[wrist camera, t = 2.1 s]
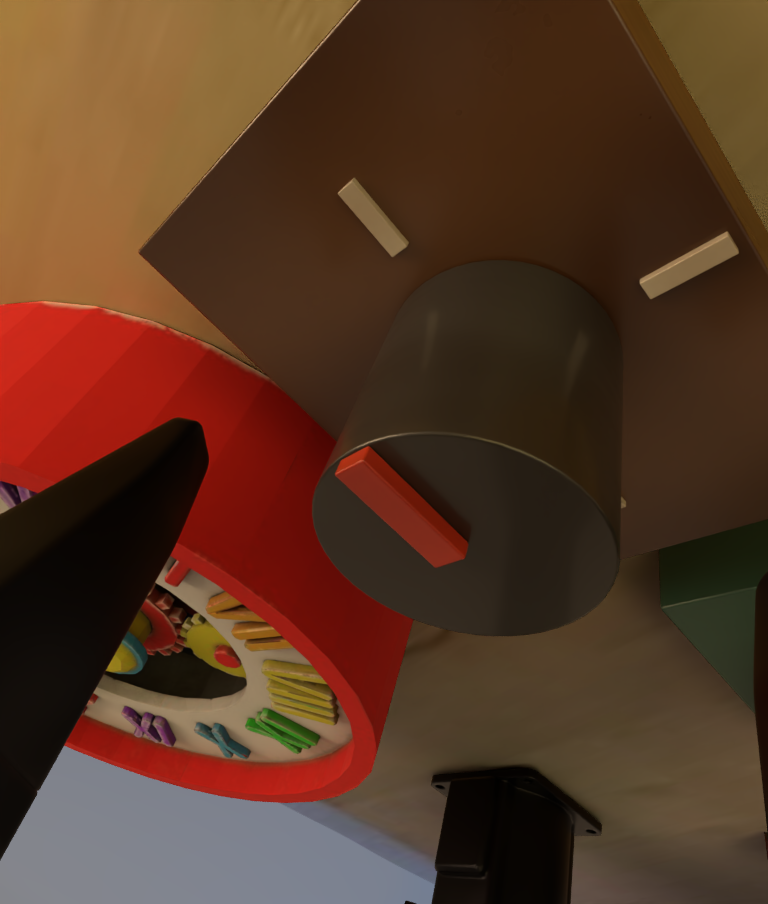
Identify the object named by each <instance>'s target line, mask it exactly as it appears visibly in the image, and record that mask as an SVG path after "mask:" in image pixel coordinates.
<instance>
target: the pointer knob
mask: <svg viewBox="0 0 768 904" xmlns="http://www.w3.org/2000/svg"><path fill="white" fill-rule="evenodd" d="M622 415H623V352H622V347H621V343H620V339H619V336H618V333H617V331H616V329H615V326H614V324H613V322H612V321H611V319H610V318H609V316H608V314H607V313H606V311H605V310H604V309H603V308H602V306H601V305H600V304H599V303H598V302H597V301H596V299H595V298H593V297H592V296H591V295H590V294H589V293H588V292H587V291H586V290H584V289H583V288H582V287H580V286H579V285H578V284H576V283H575V282H573V281H572V280H570V279H568V278H566V277H564V276H562V275H560V274H558V273H556V272H554V271H552V270H549V269H546V268H543V267H541V266H538V265H533V264H529V263H524V262H518V261H508V260H486V261H479V262H473V263H468V264H464V265H461V266H457V267H454V268H451V269H449V270H447V271H444V272H442V273H439V274H438V275H436V276H434V277H433V278H431V279H429V280H428V281H426V282H425V283H424V284H422V285H421V286H420V287H419V288H417V289H416V290H415V291H414V292H413V293H412V294H411V295H410V296H409V297H408V298H407V300H406V301H405V302H404V304H403V305H402V307H401V308H400V310H399V311H398V313H397V315H396V317H395V319H394V322H393V324H392V326H391V328H390V330H389V332H388V334H387V337H386V339H385V341H384V343H383V345H382V347H381V349H380V351H379V354H378V356H377V358H376V360H375V362H374V364H373V366H372V368H371V371H370V373H369V375H368V377H367V379H366V381H365V383H364V385H363V388H362V390H361V392H360V394H359V396H358V398H357V400H356V402H355V405H354V407H353V409H352V411H351V413H350V415H349V417H348V419H347V422H346V424H345V426H344V428H343V430H342V432H341V434H340V436H339V439H338V441H337V443H336V445H335V447H334V449H333V451H332V453H331V456H330V458H329V460H328V462H327V464H326V466H325V468H324V471H323V473H322V475H321V477H320V479H319V481H318V483H317V485H316V488H315V491H314V495H313V500H312V518H313V524H314V529H315V532H316V535H317V537H318V540H319V542H320V544H321V546H322V548H323V550H324V552H325V553H326V555H327V556H328V557H329V559H330V560H331V562H332V563H333V564H334V565H335V567H336V568H337V569H338V570H339V571H340V572H341V573H342V574H343V575H344V576H345V577H346V578H347V579H348V580H349V581H350V582H351V583H352V584H353V585H355V586H356V587H357V588H358V589H360V590H361V591H362V592H364V593H365V594H366V595H368V596H369V597H371V598H373V599H374V600H376V601H377V602H379V603H380V604H382V605H384V606H386V607H388V608H390V609H392V610H393V611H395V612H398V613H400V614H402V615H404V616H407V617H409V618H411V619H414V620H417V621H419V622H422V623H425V624H428V625H432V626H435V627H438V628H442V629H446V630H451V631H455V632H460V633H467V634H474V635H484V636H519V635H529V634H535V633H541V632H545V631H549V630H553V629H556V628H559V627H562V626H564V625H567V624H570V623H572V622H574V621H576V620H578V619H579V618H581V617H583V616H585V615H586V614H588V613H589V612H590V611H592V610H593V609H594V608H596V607H597V606H598V605H599V604H600V602H601V601H602V600H603V599H604V598H605V597H606V596H607V594H608V592H609V591H610V589H611V588H612V586H613V584H614V582H615V579H616V577H617V574H618V571H619V563H620V537H621V476H622Z"/></svg>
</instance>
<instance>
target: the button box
mask: <svg viewBox="0 0 768 904" xmlns="http://www.w3.org/2000/svg"><path fill="white" fill-rule="evenodd" d="M767 571H768V519H767V520H763V521H759V522H756V523H752V524H749V525H745V526H741V527H738V528H734V529H731V530H727V531H723V532H720V533H716V534H712V535H709V536H705V537H702V538H698V539H694V540H691V541H687V542H683V543H680V544H676V545H673V546H669V547H665V548H662V549H659V576H660V604H661V609H662V611H663V612H664V613H665V614H666V615H667V616H668V617H669V618H670V620H671V621H672V622H673V623H674V624H675V625H676V626H677V627H678V628H679V630H680V631H681V632H682V633H683V634H684V635H685V636H686V637H687V639H688V640H689V641H690V642H691V643H692V644H693V645H694V646H695V647H696V649H697V650H698V651H699V652H700V653H701V654H702V655H703V656H704V658H705V659H706V660H707V661H708V662H709V663H710V664H711V665H712V666H713V668H714V669H715V670H716V671H717V672H718V673H719V674H720V675H721V677H722V678H723V679H724V680H725V681H726V682H727V683H728V684H729V685H730V687H731V688H732V689H733V690H734V691H735V692H736V693H737V694H738V696H739V697H740V698H741V699H742V700H743V701H744V702H745V703H746V704H747V706H748V707H749V708H750V709H751V710H752V711H753V712H754V713H755V706H754V693H753V671H754V631H755V595H756V589H757V586H758V584H759V582H760V580H761V579H762V577H763V576H764V575H765V573H766V572H767Z"/></svg>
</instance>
